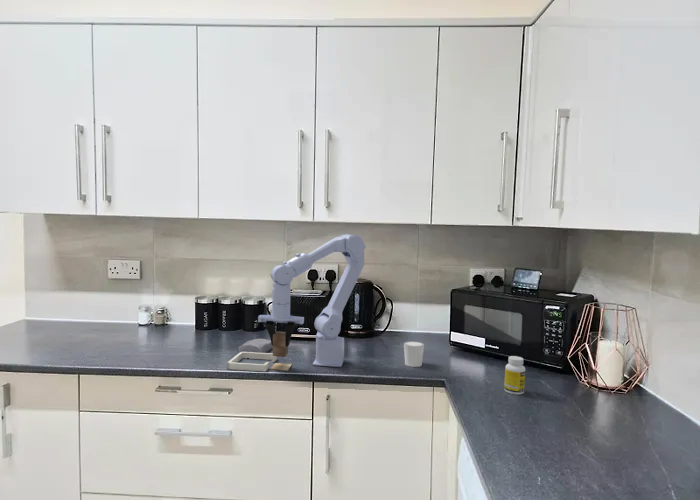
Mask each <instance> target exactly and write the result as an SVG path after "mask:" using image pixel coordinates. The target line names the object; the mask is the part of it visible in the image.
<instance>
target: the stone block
mask: <svg viewBox="0 0 700 500" xmlns="http://www.w3.org/2000/svg"><path fill="white" fill-rule="evenodd" d="M270 350H273V345H272V344H271V339H265V338H255V339H250V340H248V341H246V342H244V343H243V344H242V345H239V346H238V354H239V353H240V352H255V353H269V351H270Z"/></svg>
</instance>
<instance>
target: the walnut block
mask: <svg viewBox="0 0 700 500" xmlns="http://www.w3.org/2000/svg"><path fill="white" fill-rule="evenodd" d="M272 353H273V356H277V358H278V357H281V358H285V357H286V356H287V355H288V354H289V346H286V331H276V332H275V333H274V334H273V347H272Z"/></svg>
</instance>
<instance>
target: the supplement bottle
mask: <svg viewBox="0 0 700 500" xmlns="http://www.w3.org/2000/svg"><path fill="white" fill-rule="evenodd" d="M507 361H508V363H507V364H506V365H505V369H504V385H503V386H504V387H503V388H504V391H505V392H506V393H508V394H511V395H523V394H525V386H526V385H525V384H526V383H525V382H526V367H525V366H524V358H523V357H522V356H518V355H511V356H508V359H507Z"/></svg>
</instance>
